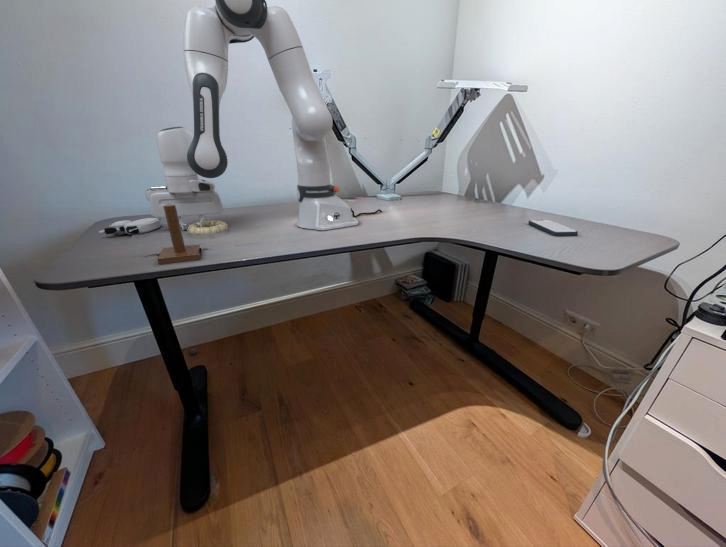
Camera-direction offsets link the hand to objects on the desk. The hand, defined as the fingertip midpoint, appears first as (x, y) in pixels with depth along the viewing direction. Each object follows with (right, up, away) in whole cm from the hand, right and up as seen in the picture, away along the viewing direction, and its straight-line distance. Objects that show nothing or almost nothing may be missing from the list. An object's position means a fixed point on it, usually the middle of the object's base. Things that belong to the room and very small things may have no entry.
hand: (192, 229), depth 101 cm
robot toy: (-19, -2, 0) cm, 19 cm away
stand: (+7, -10, -19) cm, 22 cm away
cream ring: (+4, 0, +2) cm, 4 cm away
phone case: (+122, +1, +9) cm, 122 cm away
